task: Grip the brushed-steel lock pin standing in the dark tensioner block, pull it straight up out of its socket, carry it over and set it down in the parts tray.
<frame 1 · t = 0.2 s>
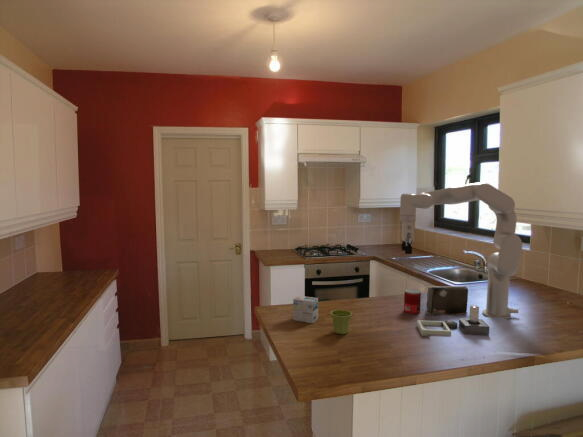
hand: (406, 252, 202), 31 cm above the countertop, tool pointing down, fingers open, 9 cm apart
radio: (446, 313, 203), on the countertop
tensioner block: (473, 333, 176), on the countertop
lock pin: (473, 331, 176), point 1 cm above the countertop, touching tensioner block
parts tray: (433, 331, 179), on the countertop
light bulb box: (305, 320, 193), on the countertop
canned food: (411, 312, 205), on the countertop
plant pot: (340, 332, 178), on the countertop
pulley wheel: (449, 328, 183), on the countertop
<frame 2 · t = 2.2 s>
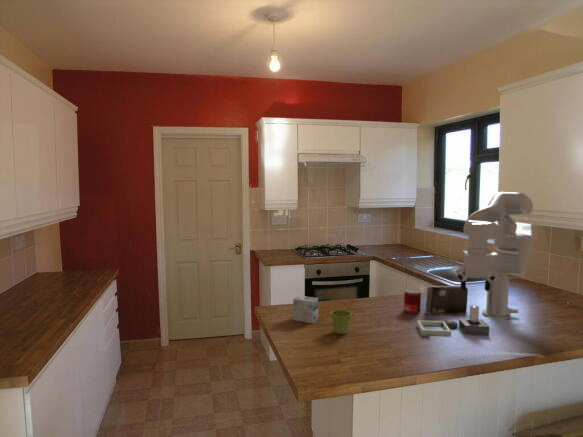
hand: (475, 290, 174), 20 cm above the countertop, tool pointing down, fingers open, 9 cm apart
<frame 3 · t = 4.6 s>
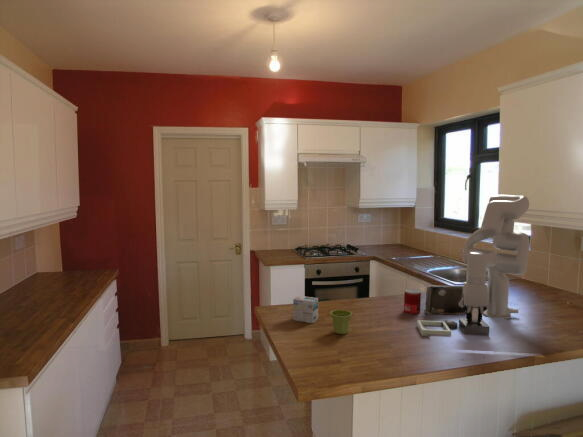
hand: (473, 320, 176), 6 cm above the countertop, tool pointing down, fingers closed on lock pin, 3 cm apart
lock pin: (473, 331, 176), point 1 cm above the countertop, touching gripper, tensioner block
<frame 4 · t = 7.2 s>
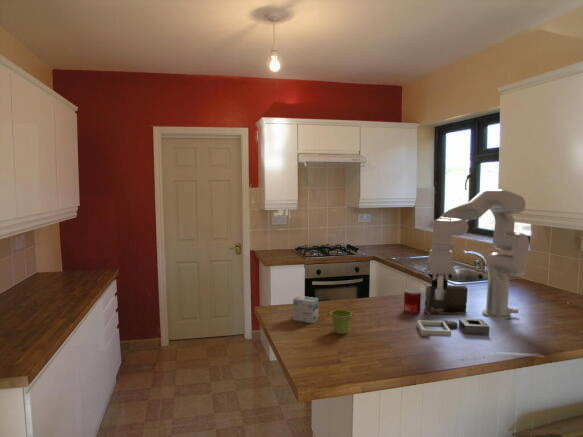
hand: (439, 288, 176), 20 cm above the countertop, tool pointing down, fingers closed on lock pin, 3 cm apart
lock pin: (438, 298, 177), point 15 cm above the countertop, touching gripper
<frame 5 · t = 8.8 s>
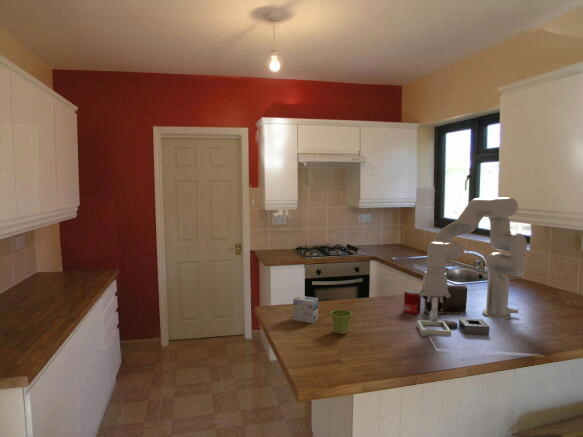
hand: (433, 310, 178), 10 cm above the countertop, tool pointing down, fingers closed on lock pin, 3 cm apart
lock pin: (433, 320, 178), point 5 cm above the countertop, touching gripper
when the fingers open (8 cm above the countertop, at t = 9.8 s): lock pin drops 2 cm, resting on parts tray.
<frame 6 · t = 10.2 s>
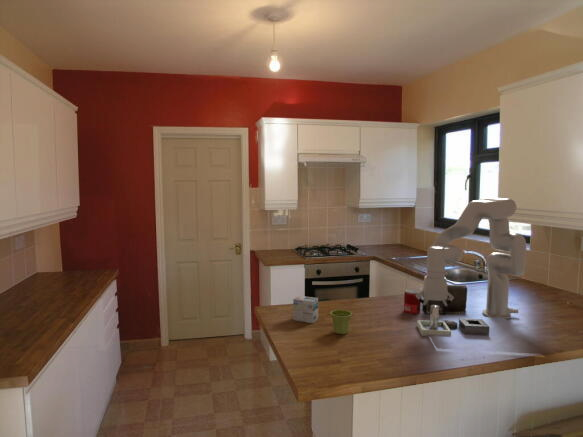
hand: (434, 313, 178), 8 cm above the countertop, tool pointing down, fingers open, 7 cm apart
lock pin: (433, 329, 179), point 1 cm above the countertop, touching parts tray
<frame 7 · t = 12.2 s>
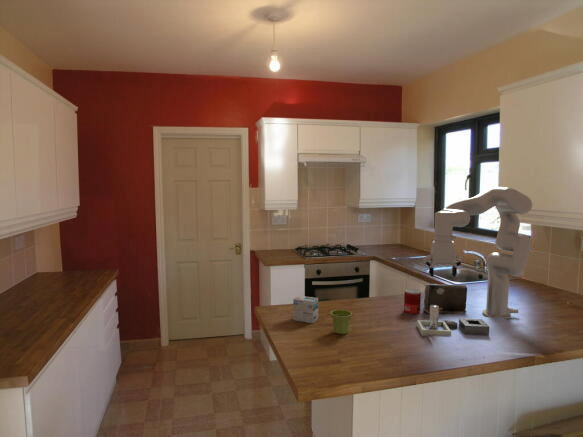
hand: (442, 275, 182), 24 cm above the countertop, tool pointing down, fingers open, 9 cm apart
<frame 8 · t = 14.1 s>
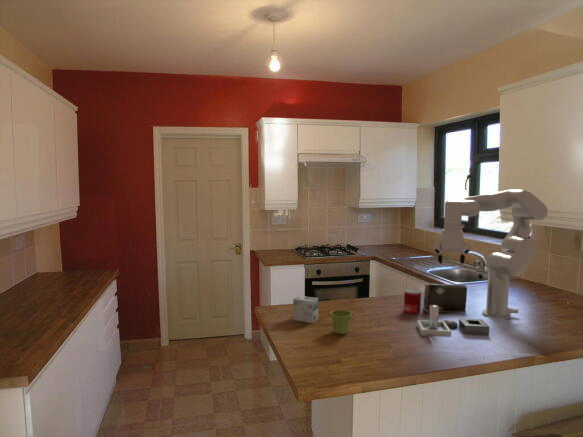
hand: (451, 263, 188), 28 cm above the countertop, tool pointing down, fingers open, 9 cm apart
at the end: lock pin inside the target area on the parts tray (0.0 cm from its centre), point 0.6 cm above the parts tray's base; lock pin touching parts tray; the gripper is holding nothing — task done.
